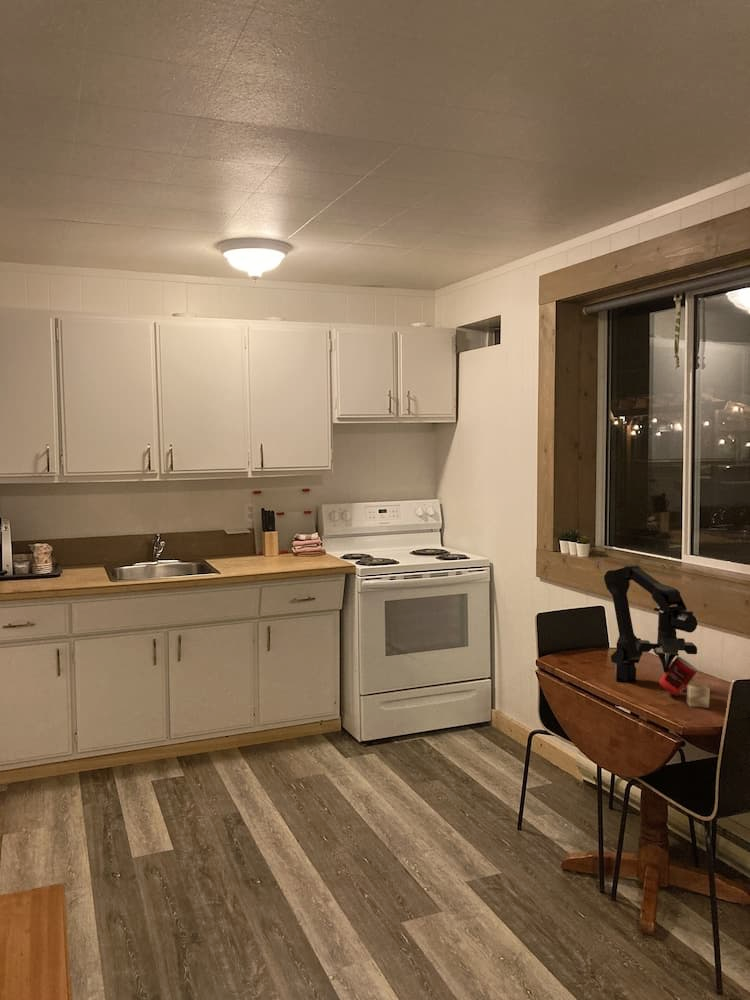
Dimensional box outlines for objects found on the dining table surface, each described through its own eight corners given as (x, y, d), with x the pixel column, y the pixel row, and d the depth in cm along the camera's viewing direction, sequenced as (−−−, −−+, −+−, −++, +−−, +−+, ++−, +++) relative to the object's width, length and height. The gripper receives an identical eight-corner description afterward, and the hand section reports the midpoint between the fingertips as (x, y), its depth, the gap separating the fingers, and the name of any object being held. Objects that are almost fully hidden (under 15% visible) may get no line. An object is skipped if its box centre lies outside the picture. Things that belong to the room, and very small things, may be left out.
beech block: (689, 706, 270) (690, 688, 270) (686, 702, 274) (687, 684, 274) (708, 707, 269) (709, 689, 269) (705, 703, 273) (706, 685, 273)
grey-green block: (676, 689, 288) (677, 672, 288) (674, 686, 292) (674, 669, 292) (694, 690, 287) (695, 673, 287) (692, 687, 291) (692, 670, 291)
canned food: (672, 690, 286) (691, 664, 284) (682, 700, 278) (701, 673, 277) (654, 679, 285) (673, 653, 283) (663, 688, 277) (683, 661, 275)
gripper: (642, 630, 273) (640, 677, 274) (702, 633, 271) (700, 680, 272) (636, 623, 284) (634, 668, 285) (694, 625, 282) (692, 671, 283)
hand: (665, 672), depth 281 cm, fingers closed
